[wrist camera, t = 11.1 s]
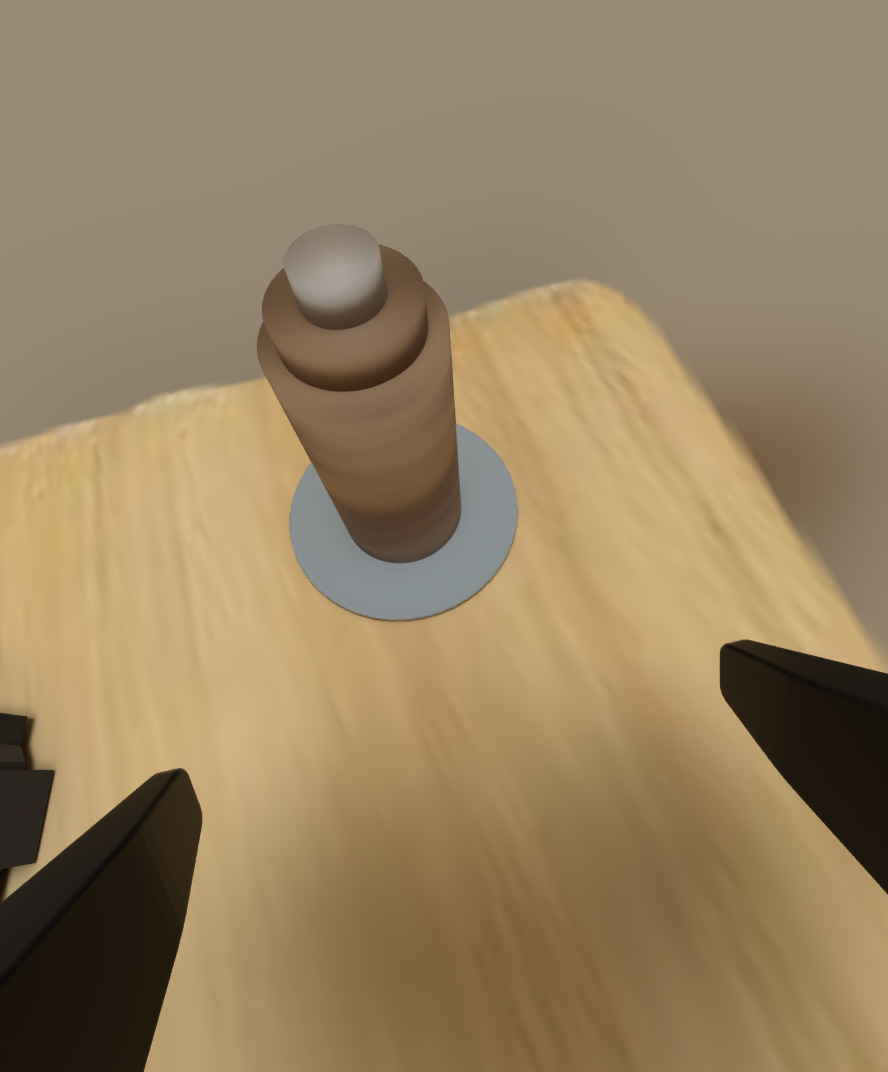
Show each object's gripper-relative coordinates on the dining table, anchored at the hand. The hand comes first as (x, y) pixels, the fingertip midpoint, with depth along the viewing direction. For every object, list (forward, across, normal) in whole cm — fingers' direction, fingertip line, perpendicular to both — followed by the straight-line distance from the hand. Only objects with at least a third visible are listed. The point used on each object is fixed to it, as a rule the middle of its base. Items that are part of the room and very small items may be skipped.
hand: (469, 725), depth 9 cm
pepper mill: (+17, 0, 0) cm, 17 cm away
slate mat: (+18, 0, 0) cm, 18 cm away
